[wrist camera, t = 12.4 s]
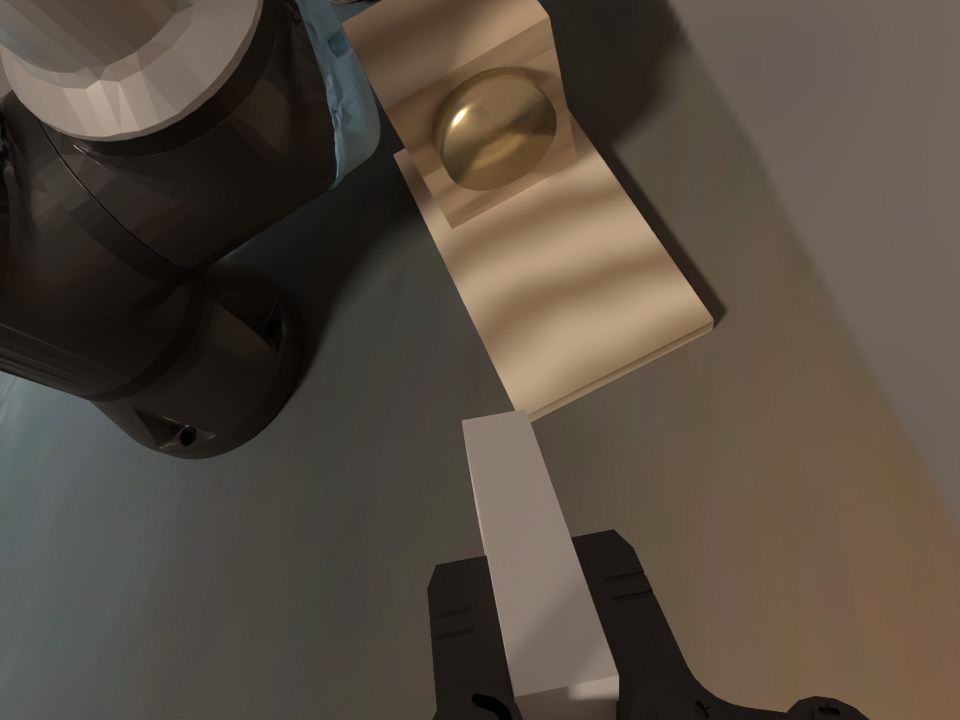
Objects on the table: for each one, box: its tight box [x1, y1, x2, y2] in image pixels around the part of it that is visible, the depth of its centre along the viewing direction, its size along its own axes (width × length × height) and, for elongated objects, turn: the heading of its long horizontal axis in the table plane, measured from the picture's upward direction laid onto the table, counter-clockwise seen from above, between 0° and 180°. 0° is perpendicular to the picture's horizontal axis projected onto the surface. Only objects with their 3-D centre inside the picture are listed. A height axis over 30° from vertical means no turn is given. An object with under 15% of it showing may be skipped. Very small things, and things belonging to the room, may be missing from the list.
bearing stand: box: [342, 0, 714, 422], centre depth 38 cm, size 24×13×14 cm, turn 24°
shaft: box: [432, 67, 557, 191], centre depth 38 cm, size 12×7×7 cm, turn 24°
